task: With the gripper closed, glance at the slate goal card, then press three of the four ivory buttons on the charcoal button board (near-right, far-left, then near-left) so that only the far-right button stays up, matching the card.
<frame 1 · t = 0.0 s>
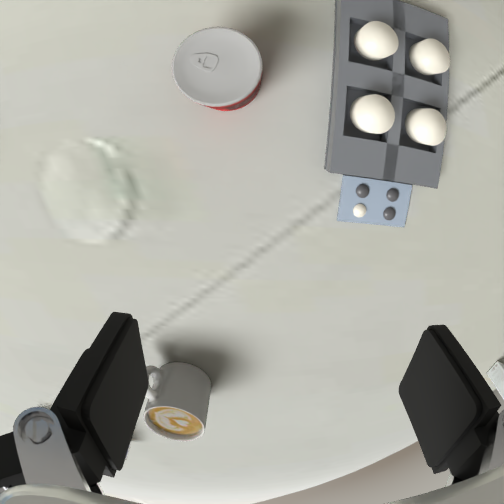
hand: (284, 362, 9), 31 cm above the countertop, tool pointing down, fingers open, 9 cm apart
button board: (388, 86, 33), on the countertop
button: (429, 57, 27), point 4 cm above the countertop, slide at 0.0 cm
skincare box: (495, 368, 53), on the countertop
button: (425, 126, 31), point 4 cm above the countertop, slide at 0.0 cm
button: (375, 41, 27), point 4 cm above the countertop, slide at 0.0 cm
canned food: (227, 81, 33), on the countertop
coffee mug: (178, 374, 51), on the countertop
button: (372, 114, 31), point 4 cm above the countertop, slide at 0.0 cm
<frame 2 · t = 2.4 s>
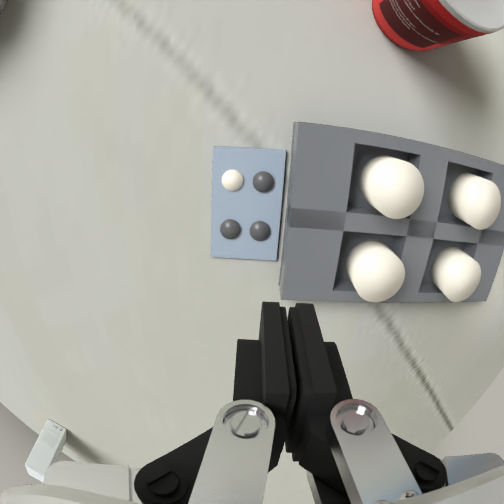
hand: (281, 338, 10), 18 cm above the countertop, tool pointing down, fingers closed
button board: (408, 218, 28), on the countertop
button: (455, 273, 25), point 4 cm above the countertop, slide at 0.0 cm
skincare box: (57, 429, 44), on the countertop
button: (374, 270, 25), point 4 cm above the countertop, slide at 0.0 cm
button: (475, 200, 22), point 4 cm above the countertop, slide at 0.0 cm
canned food: (405, 16, 20), on the countertop
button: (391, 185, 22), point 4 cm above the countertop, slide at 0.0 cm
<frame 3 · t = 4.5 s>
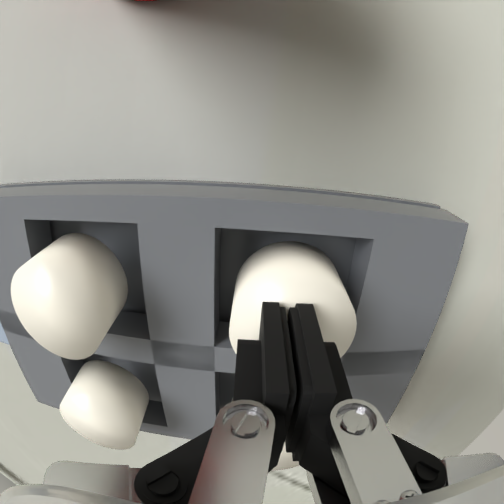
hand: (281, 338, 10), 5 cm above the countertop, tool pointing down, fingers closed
button board: (193, 319, 17), on the countertop
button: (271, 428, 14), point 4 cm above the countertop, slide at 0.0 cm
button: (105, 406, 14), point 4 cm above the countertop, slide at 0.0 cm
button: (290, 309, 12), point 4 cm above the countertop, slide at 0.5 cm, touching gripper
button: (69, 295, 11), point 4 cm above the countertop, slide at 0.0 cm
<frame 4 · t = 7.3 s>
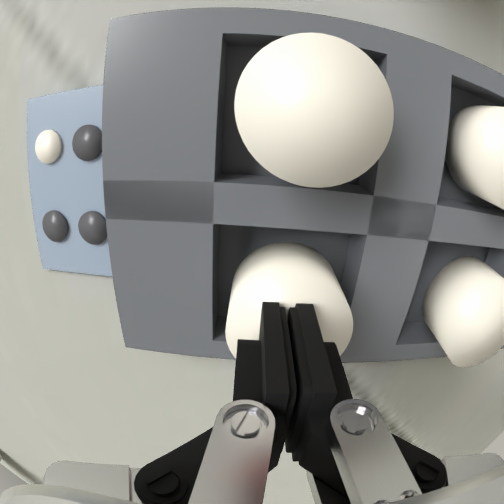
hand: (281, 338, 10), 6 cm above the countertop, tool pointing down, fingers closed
button board: (378, 200, 14), on the countertop
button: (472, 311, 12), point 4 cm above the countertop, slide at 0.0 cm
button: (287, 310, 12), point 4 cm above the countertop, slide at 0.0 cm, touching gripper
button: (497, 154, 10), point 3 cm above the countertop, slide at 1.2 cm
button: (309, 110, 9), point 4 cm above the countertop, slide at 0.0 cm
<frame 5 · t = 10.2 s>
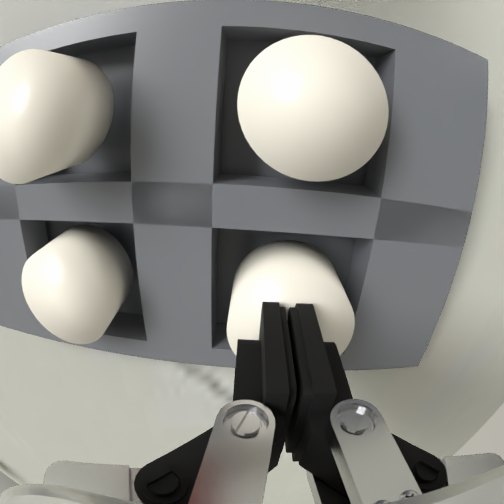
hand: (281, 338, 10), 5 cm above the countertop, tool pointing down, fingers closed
button board: (188, 186, 14), on the countertop
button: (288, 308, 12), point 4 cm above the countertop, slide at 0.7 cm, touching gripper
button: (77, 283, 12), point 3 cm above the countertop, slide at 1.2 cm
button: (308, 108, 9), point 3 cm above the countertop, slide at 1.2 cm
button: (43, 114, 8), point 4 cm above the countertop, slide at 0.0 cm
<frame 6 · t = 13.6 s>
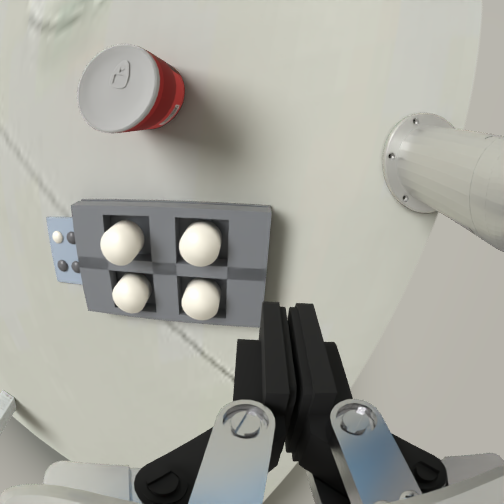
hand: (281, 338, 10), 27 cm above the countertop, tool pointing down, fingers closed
button board: (170, 258, 39), on the countertop
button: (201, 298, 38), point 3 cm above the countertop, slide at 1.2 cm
skincare box: (10, 398, 56), on the countertop
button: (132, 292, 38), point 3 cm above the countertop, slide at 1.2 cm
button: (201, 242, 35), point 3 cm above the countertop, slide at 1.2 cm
canned food: (154, 95, 31), on the countertop
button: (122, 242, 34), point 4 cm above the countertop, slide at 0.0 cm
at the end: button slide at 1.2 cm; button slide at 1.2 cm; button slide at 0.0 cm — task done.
